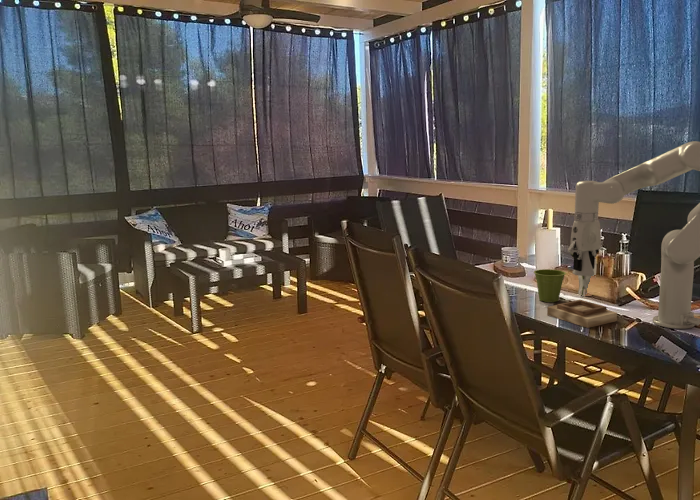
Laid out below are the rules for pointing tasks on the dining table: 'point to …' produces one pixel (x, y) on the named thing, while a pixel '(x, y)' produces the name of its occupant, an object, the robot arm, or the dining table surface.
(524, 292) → the dining table surface
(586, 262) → the flask
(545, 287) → the plant pot
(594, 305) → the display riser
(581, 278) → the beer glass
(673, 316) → the robot arm
